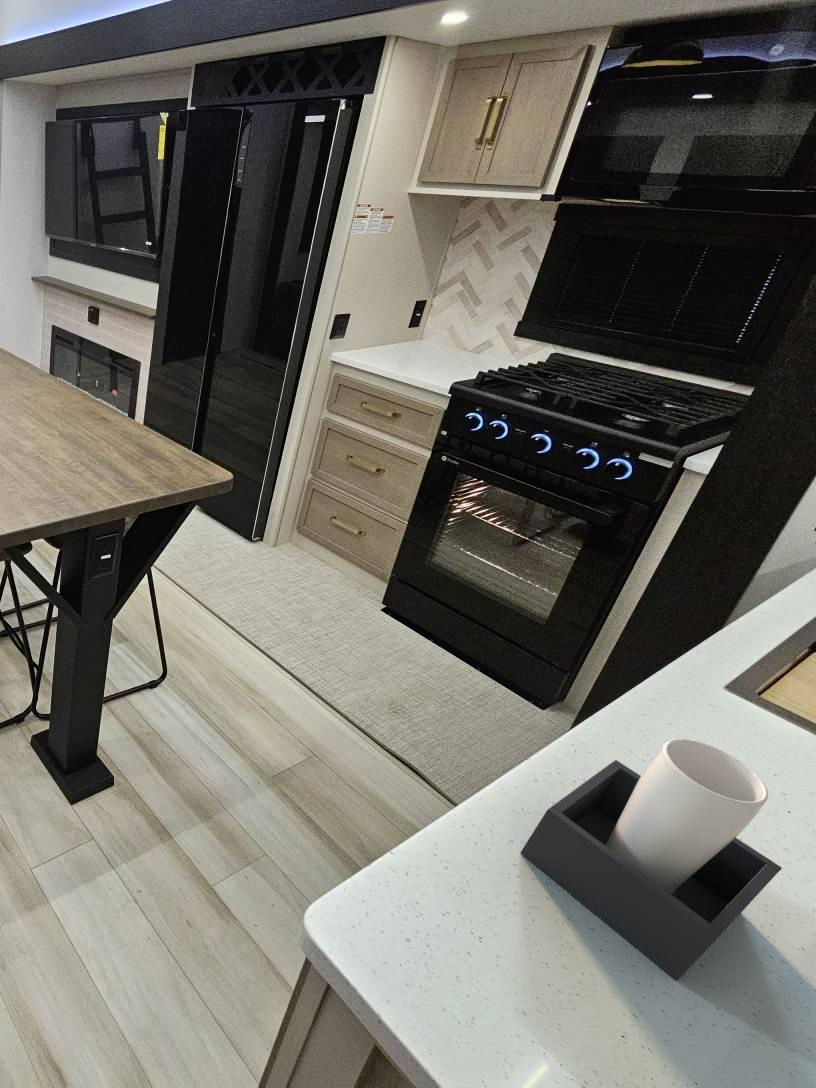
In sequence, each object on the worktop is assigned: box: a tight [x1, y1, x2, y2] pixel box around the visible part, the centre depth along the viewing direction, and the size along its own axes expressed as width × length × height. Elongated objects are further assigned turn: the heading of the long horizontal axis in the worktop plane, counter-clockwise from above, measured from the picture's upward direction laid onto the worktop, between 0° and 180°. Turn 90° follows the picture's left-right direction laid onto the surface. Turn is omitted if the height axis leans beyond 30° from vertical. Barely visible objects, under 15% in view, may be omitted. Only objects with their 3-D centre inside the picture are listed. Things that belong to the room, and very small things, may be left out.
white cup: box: [605, 738, 769, 895], centre depth 60 cm, size 7×7×15 cm
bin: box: [520, 759, 782, 982], centre depth 63 cm, size 13×13×7 cm
